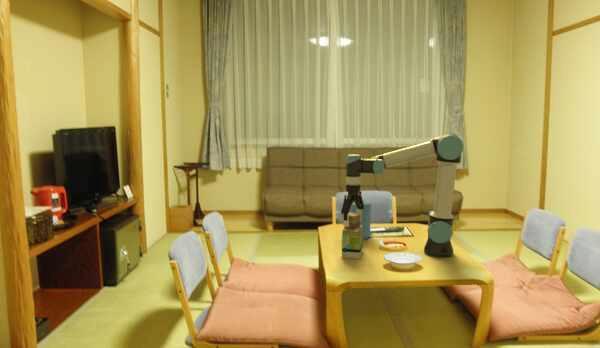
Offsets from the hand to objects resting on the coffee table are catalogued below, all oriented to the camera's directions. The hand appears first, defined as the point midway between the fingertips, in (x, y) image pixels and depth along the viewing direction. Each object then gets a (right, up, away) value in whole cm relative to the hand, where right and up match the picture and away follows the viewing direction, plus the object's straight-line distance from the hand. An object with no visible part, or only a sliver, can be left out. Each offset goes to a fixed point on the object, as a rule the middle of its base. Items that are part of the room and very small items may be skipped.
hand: (352, 223), depth 258 cm
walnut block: (0, -2, 0) cm, 2 cm away
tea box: (0, -17, +3) cm, 17 cm away
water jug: (+7, -12, +38) cm, 40 cm away
